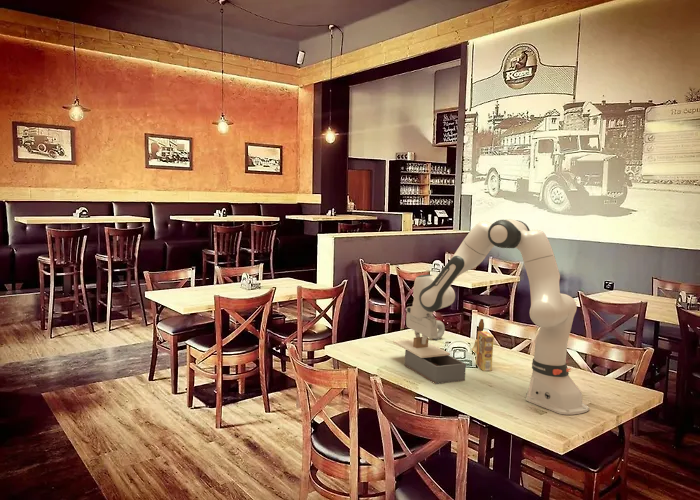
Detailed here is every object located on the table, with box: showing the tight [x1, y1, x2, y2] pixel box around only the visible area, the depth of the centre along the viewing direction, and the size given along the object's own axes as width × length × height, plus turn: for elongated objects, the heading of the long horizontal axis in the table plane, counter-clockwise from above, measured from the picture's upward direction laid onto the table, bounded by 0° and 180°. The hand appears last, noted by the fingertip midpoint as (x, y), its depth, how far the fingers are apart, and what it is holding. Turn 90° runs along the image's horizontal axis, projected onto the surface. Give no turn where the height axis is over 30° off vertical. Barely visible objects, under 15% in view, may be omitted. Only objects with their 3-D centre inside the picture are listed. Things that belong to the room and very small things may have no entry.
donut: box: [432, 319, 446, 340], centre depth 278 cm, size 10×3×10 cm, turn 123°
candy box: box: [475, 330, 494, 372], centre depth 234 cm, size 9×4×15 cm, turn 8°
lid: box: [392, 336, 451, 358], centre depth 234 cm, size 24×14×5 cm, turn 24°
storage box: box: [404, 349, 467, 385], centre depth 225 cm, size 24×14×7 cm, turn 24°
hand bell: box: [471, 318, 485, 354], centre depth 259 cm, size 8×8×16 cm
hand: (420, 342), depth 234 cm, fingers closed on lid, 2 cm apart
